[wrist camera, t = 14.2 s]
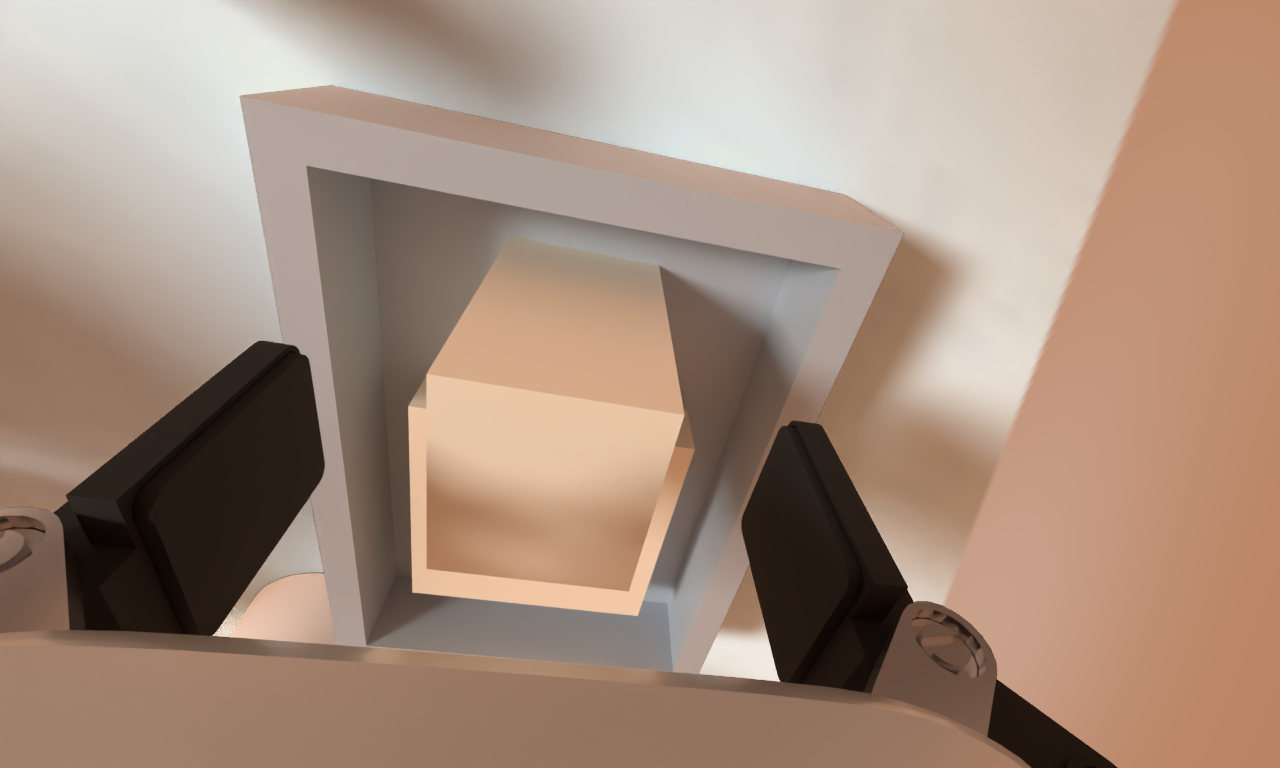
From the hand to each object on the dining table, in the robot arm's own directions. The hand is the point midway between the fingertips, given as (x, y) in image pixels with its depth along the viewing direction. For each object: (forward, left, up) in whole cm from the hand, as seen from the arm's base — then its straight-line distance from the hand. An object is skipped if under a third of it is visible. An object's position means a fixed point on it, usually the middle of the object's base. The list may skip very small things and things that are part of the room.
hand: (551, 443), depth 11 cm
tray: (+4, 0, -6) cm, 7 cm away
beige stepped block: (+4, 0, -5) cm, 7 cm away
